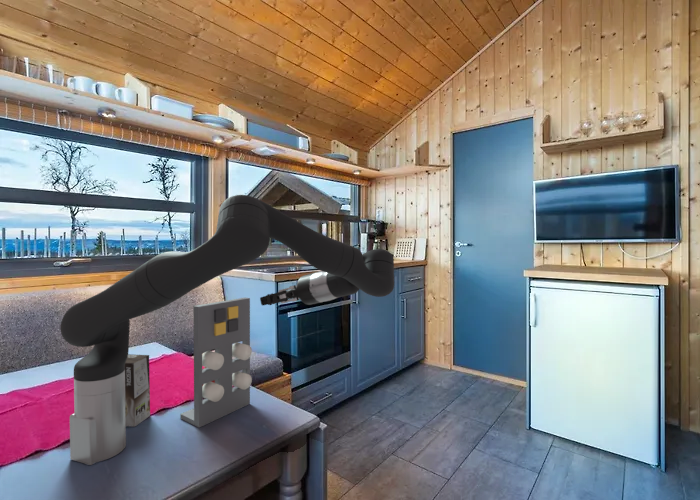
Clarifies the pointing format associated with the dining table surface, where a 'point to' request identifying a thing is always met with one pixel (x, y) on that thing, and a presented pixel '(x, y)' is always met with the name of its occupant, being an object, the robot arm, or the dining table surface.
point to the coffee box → (137, 389)
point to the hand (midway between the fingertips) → (272, 298)
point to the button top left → (212, 360)
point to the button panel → (220, 333)
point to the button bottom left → (212, 391)
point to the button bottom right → (241, 380)
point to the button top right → (241, 351)
